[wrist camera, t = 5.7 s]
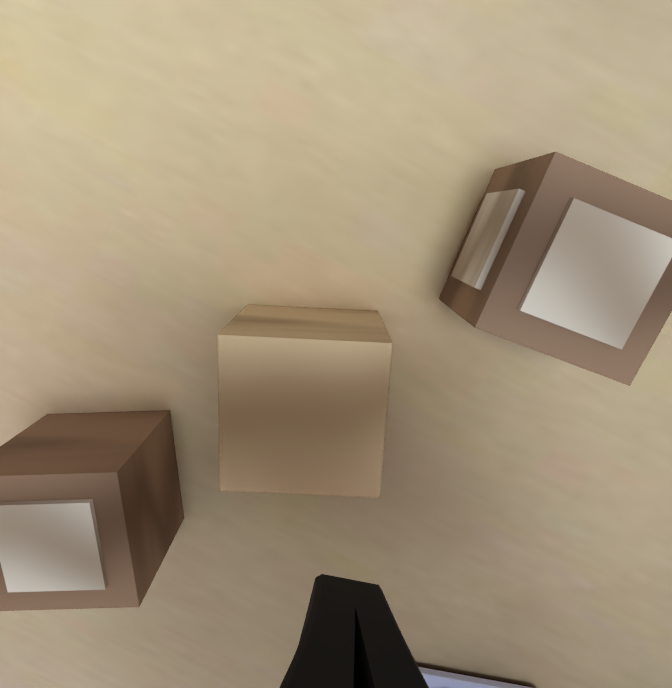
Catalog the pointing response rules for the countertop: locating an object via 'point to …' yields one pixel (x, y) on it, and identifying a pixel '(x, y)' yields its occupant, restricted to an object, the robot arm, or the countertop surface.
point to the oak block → (303, 401)
